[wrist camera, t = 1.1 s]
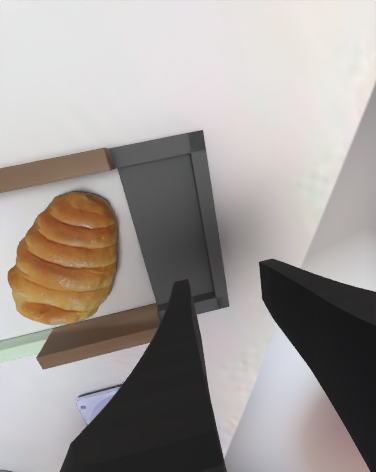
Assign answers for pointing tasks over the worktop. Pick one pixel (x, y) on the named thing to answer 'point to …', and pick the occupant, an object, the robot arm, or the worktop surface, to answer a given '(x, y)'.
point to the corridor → (98, 329)
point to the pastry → (66, 260)
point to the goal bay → (23, 346)
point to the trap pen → (174, 217)
